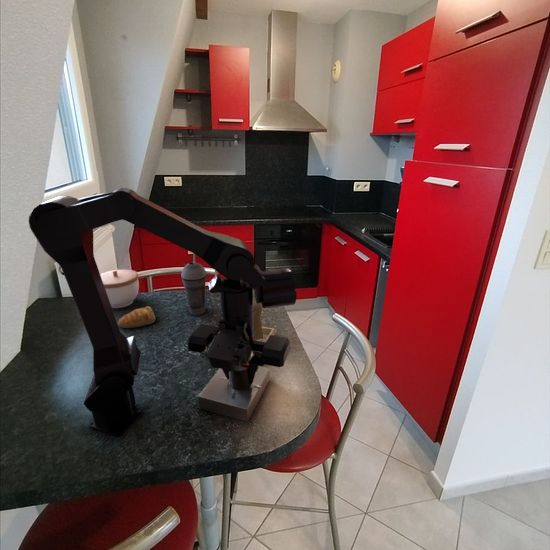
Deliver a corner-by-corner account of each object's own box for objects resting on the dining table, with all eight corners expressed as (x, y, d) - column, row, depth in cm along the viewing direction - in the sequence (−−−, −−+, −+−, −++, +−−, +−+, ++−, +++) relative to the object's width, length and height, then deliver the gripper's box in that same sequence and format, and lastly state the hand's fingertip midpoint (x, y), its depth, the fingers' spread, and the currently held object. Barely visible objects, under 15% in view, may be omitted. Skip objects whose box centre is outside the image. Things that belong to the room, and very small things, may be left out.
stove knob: (225, 387, 62) (224, 367, 60) (234, 373, 66) (233, 353, 64) (247, 392, 61) (246, 371, 59) (254, 377, 65) (254, 357, 63)
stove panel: (249, 422, 58) (248, 409, 57) (199, 408, 61) (197, 395, 60) (271, 380, 69) (271, 368, 67) (227, 370, 72) (226, 358, 70)
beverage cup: (198, 303, 102) (192, 242, 94) (214, 310, 98) (210, 247, 90) (179, 312, 96) (172, 248, 89) (196, 319, 92) (189, 253, 85)
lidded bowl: (149, 296, 107) (145, 265, 103) (126, 314, 95) (119, 280, 91) (116, 293, 109) (110, 262, 105) (89, 310, 98) (81, 276, 94)
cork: (268, 339, 83) (268, 300, 79) (254, 350, 78) (253, 310, 74) (249, 332, 86) (248, 295, 82) (235, 343, 81) (233, 304, 77)
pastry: (122, 333, 86) (120, 320, 84) (116, 323, 90) (113, 311, 89) (157, 322, 91) (155, 310, 90) (149, 313, 96) (147, 301, 95)
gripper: (165, 324, 53) (176, 399, 58) (275, 342, 48) (274, 422, 54) (198, 296, 63) (204, 362, 68) (291, 309, 58) (290, 379, 64)
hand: (240, 380), depth 63 cm, fingers closed on stove knob, 4 cm apart
